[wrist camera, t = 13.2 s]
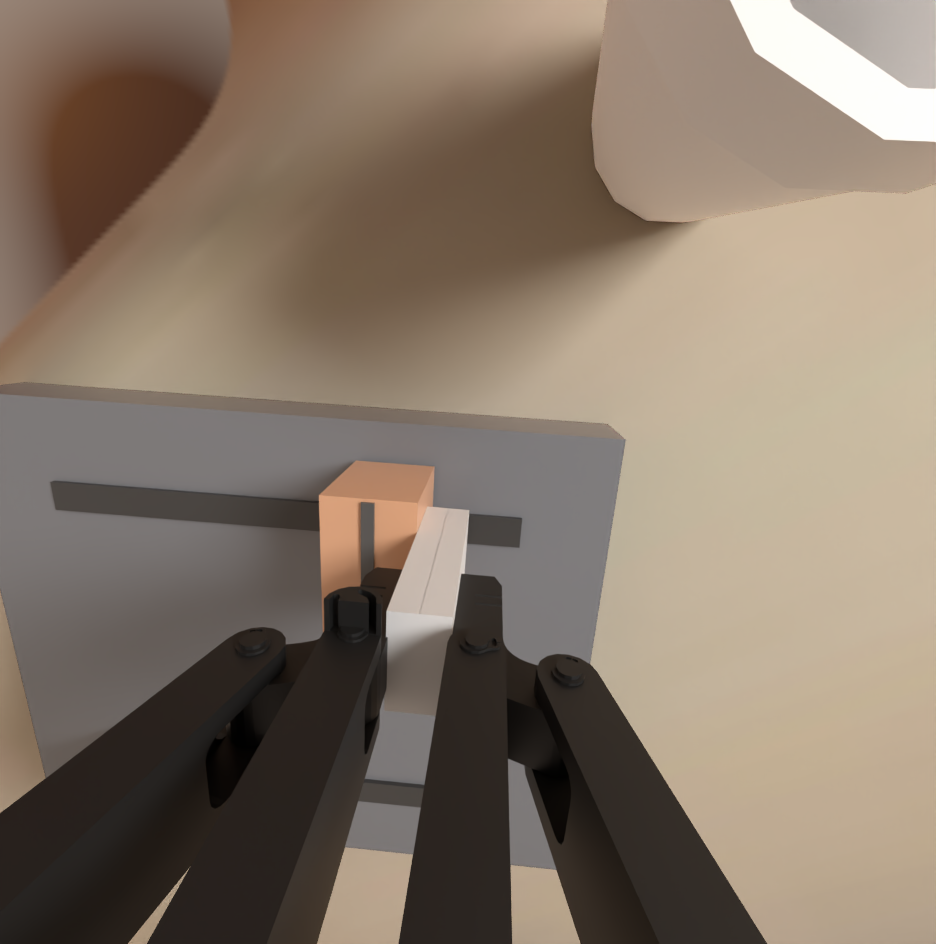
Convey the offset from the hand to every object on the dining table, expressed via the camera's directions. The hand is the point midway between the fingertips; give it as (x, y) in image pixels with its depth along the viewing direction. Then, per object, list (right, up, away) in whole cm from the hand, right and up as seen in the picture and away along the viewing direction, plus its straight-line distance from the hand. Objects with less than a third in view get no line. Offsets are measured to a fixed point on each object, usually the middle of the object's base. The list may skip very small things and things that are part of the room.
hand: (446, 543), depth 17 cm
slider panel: (-7, -5, +7) cm, 11 cm away
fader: (-2, 0, +2) cm, 3 cm away
